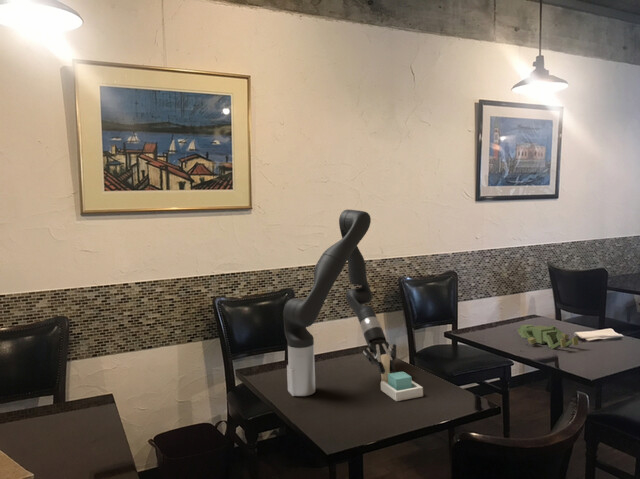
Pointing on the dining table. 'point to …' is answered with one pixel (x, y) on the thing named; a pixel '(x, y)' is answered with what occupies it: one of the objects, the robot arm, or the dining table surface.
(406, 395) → the cream u-shaped frame
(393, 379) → the tethered block
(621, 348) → the dining table surface
